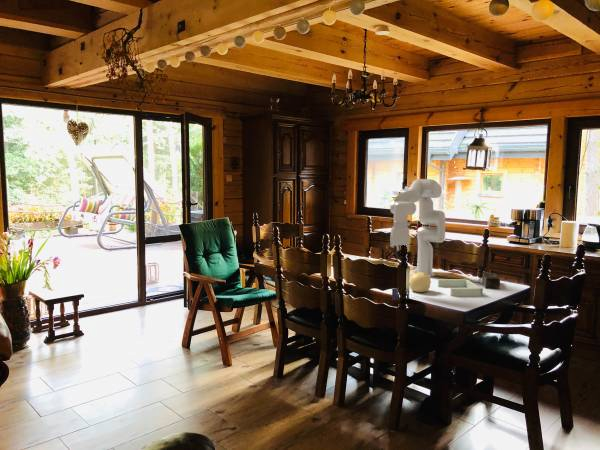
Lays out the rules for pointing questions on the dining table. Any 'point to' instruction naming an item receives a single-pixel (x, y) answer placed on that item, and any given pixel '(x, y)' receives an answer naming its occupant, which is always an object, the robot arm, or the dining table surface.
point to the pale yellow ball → (420, 282)
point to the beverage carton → (490, 280)
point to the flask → (397, 295)
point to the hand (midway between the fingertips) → (399, 257)
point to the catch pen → (469, 291)
